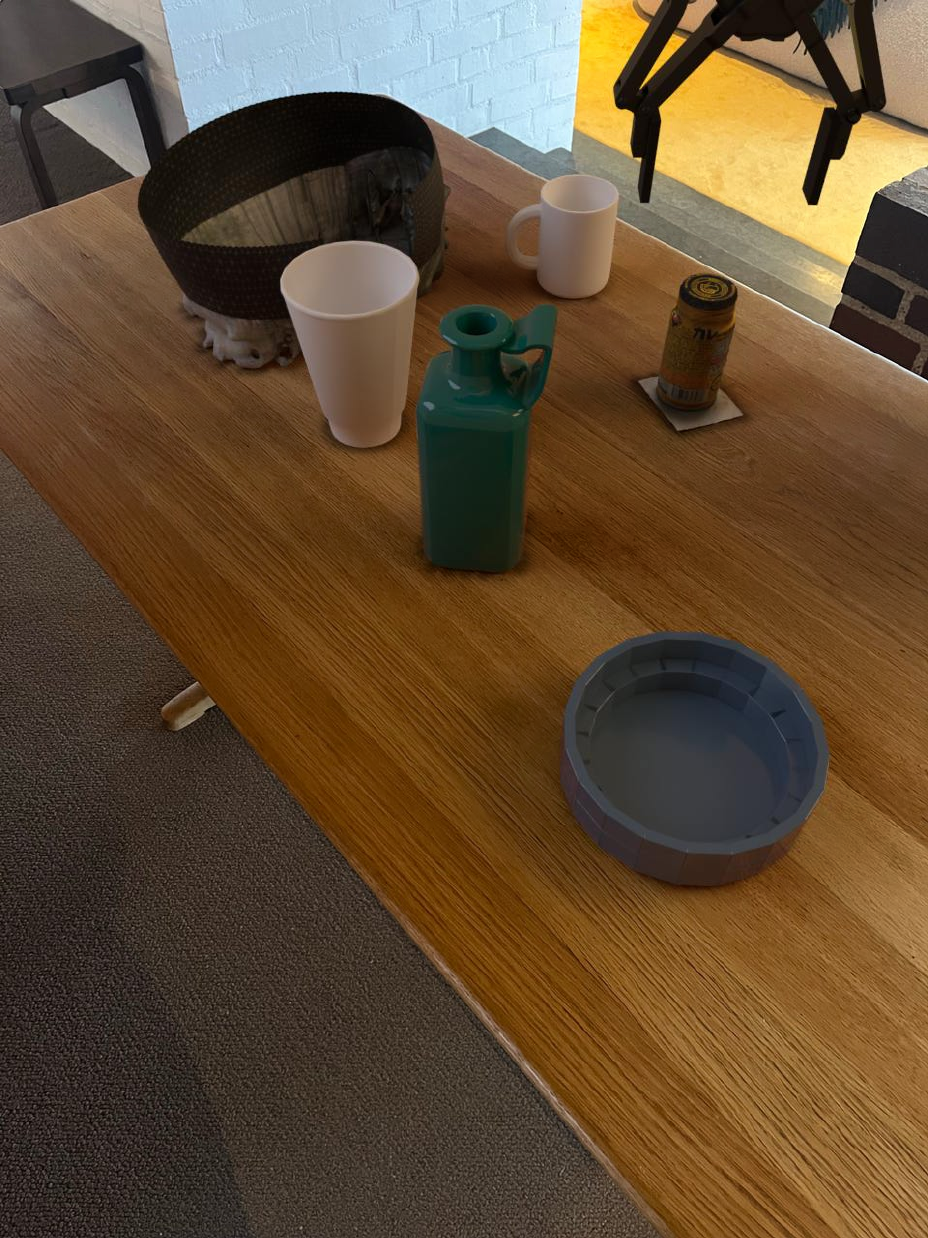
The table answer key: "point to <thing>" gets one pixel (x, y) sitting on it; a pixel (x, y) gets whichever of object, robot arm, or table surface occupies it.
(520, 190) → the table surface
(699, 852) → the bowl
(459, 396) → the pitcher
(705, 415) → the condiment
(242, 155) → the basket
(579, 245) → the mug
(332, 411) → the cup
